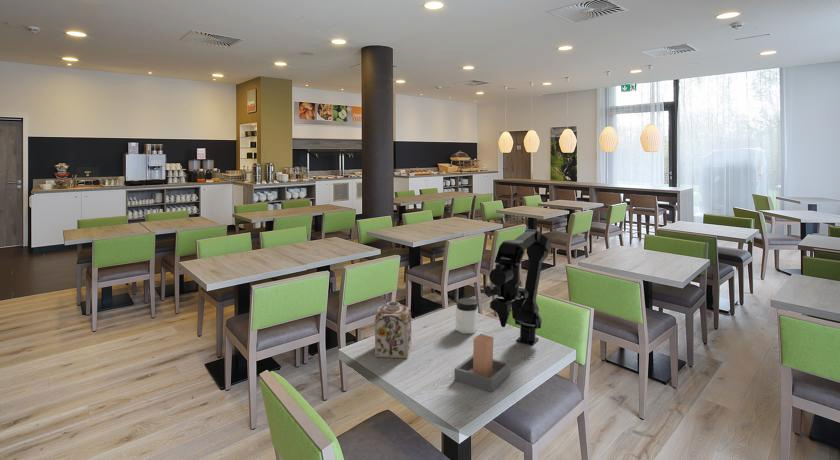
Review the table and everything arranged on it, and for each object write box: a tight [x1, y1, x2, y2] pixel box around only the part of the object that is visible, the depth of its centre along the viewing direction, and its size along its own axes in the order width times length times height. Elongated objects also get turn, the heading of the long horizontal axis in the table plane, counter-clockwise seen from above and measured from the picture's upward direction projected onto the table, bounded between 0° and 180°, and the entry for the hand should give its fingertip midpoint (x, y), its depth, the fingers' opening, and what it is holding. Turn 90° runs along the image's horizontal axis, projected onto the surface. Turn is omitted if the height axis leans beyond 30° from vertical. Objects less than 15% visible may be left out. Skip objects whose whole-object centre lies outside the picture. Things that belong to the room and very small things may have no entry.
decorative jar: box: [374, 301, 412, 360], centre depth 164 cm, size 12×12×18 cm
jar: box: [455, 297, 479, 335], centre depth 184 cm, size 9×8×12 cm
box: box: [454, 354, 511, 393], centre depth 147 cm, size 13×13×4 cm
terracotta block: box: [472, 333, 494, 377], centre depth 146 cm, size 4×4×12 cm
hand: (508, 322), depth 158 cm, fingers open, 9 cm apart
